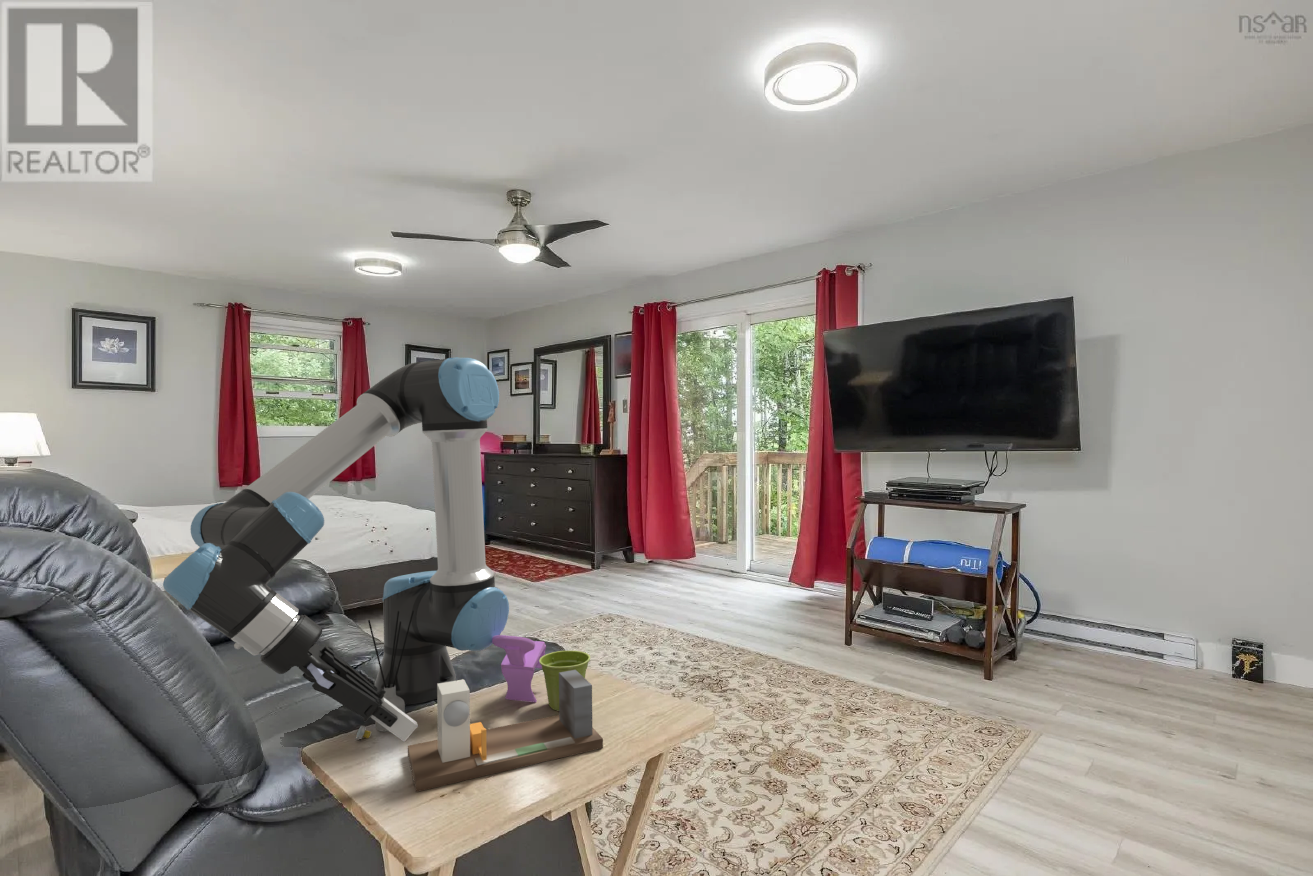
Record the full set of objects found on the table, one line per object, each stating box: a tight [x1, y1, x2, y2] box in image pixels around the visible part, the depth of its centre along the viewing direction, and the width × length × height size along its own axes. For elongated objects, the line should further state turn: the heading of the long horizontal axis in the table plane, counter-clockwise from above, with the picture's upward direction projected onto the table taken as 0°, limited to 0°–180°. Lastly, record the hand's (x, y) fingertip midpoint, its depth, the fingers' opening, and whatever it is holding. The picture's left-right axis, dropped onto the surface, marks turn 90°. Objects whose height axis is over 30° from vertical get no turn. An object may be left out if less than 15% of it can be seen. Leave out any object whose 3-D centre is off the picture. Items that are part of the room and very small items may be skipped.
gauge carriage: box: [436, 678, 471, 763], centre depth 97 cm, size 6×4×10 cm
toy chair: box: [492, 634, 547, 703], centre depth 121 cm, size 8×9×15 cm
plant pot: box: [539, 650, 591, 711], centre depth 119 cm, size 9×9×9 cm
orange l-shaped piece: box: [470, 721, 487, 761], centre depth 97 cm, size 8×2×5 cm, turn 26°
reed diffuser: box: [355, 611, 414, 740], centre depth 108 cm, size 10×7×20 cm
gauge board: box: [407, 670, 604, 793], centre depth 101 cm, size 12×28×10 cm, turn 116°
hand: (410, 732), depth 95 cm, fingers closed
